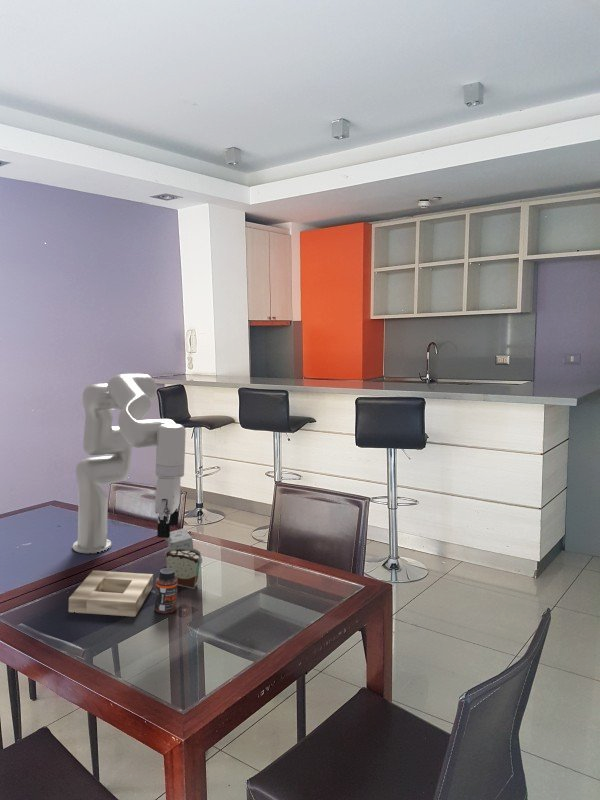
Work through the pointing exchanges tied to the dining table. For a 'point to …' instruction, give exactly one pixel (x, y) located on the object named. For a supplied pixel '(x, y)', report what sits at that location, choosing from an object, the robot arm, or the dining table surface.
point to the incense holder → (179, 539)
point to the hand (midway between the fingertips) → (167, 530)
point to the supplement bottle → (166, 591)
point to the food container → (184, 565)
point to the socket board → (108, 603)
